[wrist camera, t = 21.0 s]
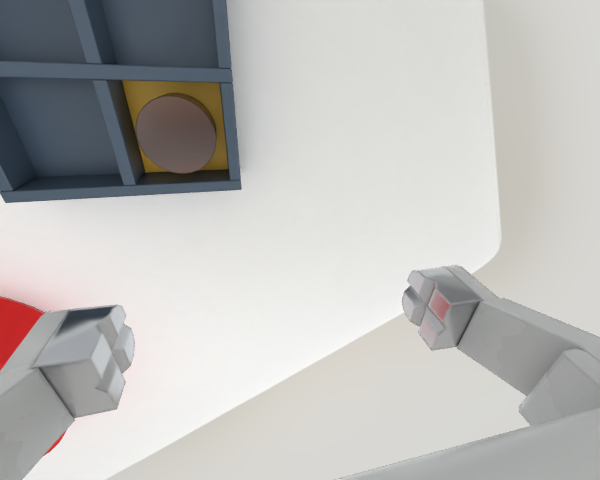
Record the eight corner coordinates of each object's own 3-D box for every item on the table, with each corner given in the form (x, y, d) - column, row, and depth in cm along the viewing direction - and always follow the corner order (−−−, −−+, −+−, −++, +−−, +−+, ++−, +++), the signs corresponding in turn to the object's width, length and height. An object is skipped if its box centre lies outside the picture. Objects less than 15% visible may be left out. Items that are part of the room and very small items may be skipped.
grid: (-109, -118, 14) (-201, -171, 11) (218, -72, 17) (217, -103, 14) (34, 184, 22) (4, 203, 19) (239, 175, 25) (241, 190, 22)
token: (137, 91, 20) (125, 95, 17) (212, 93, 21) (211, 96, 18) (154, 163, 22) (146, 175, 20) (220, 161, 23) (220, 172, 21)
